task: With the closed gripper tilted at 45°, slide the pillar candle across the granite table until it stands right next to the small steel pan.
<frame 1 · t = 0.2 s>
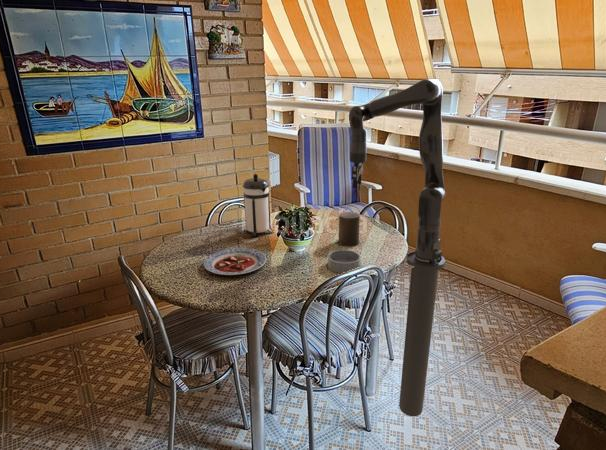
hand: (357, 185, 190), 26 cm above the table, tool pointing down, fingers open, 8 cm apart
croissant: (304, 234, 204), on the table
pillar candle: (348, 242, 193), on the table
pan: (343, 266, 169), on the table
ceramic plate: (235, 265, 171), on the table
coffee press: (256, 231, 208), on the table
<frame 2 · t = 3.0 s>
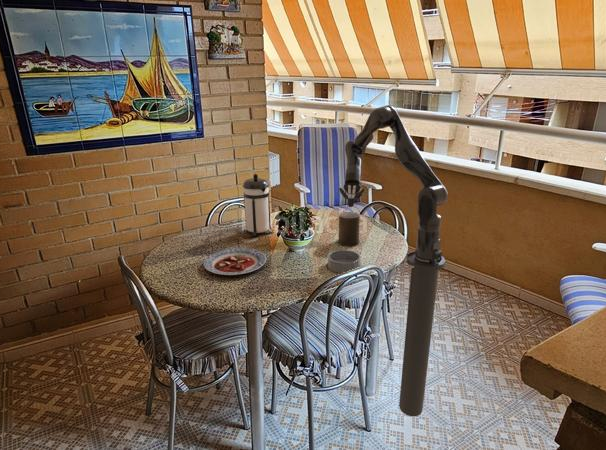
hand: (350, 206, 197), 15 cm above the table, tool tilted 45°, fingers closed
nothing on the table moved.
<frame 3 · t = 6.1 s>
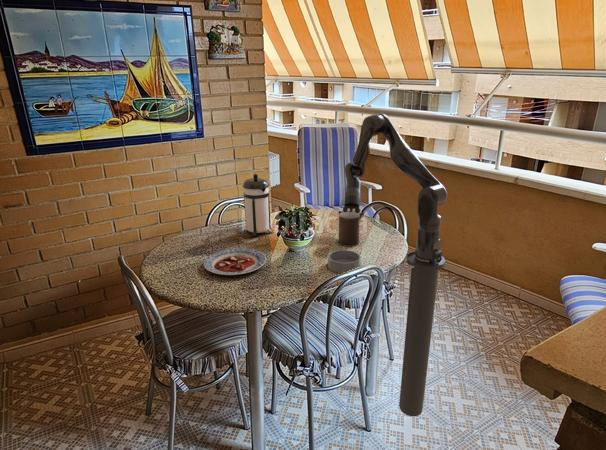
hand: (349, 229, 197), 4 cm above the table, tool tilted 45°, fingers closed
pillar candle: (348, 242, 193), on the table, touching gripper
everything else where it was.
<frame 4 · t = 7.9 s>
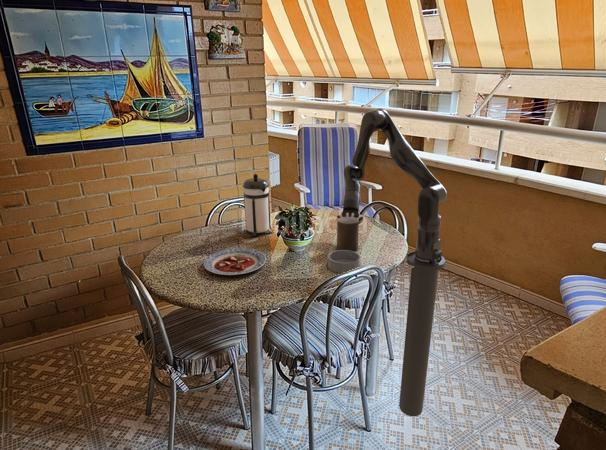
hand: (348, 235, 190), 4 cm above the table, tool tilted 45°, fingers closed
pillar candle: (347, 248, 187), on the table, touching gripper
everything else where it was.
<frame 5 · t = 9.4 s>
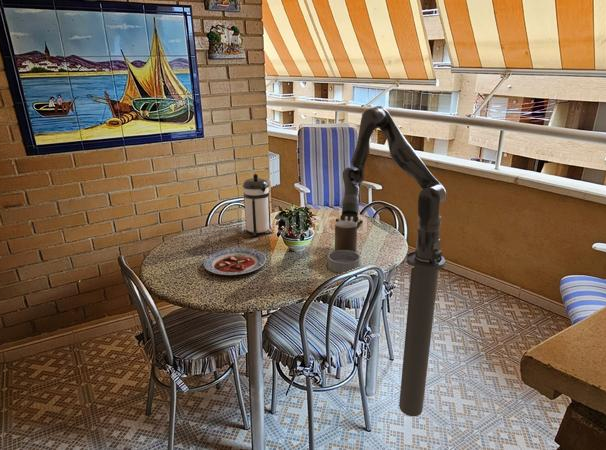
hand: (347, 239, 185), 4 cm above the table, tool tilted 45°, fingers closed
pillar candle: (345, 253, 182), on the table, touching gripper
everything else where it was.
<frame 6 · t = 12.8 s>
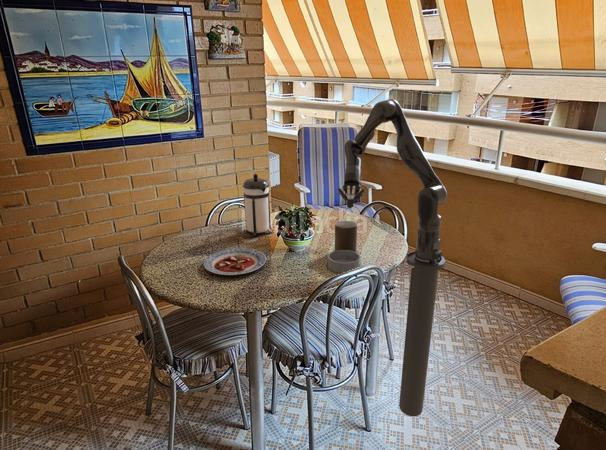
hand: (349, 207, 191), 16 cm above the table, tool tilted 45°, fingers closed
pillar candle: (345, 253, 182), on the table
everything else where it was.
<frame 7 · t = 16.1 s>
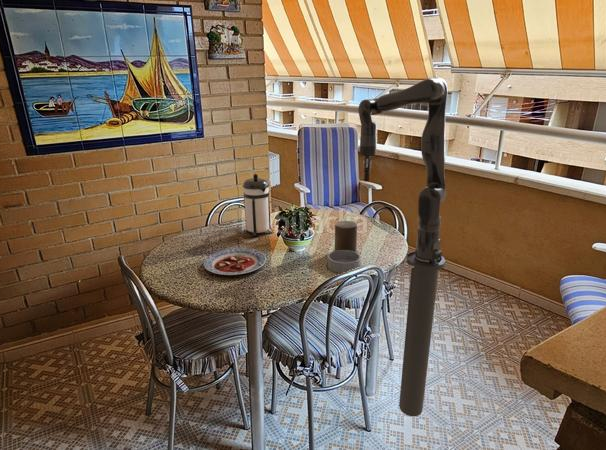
hand: (366, 180, 194), 27 cm above the table, tool pointing down, fingers closed
nothing on the table moved.
at the end: pillar candle 13.7 cm from the pan (horizontally); pillar candle moved 12.7 cm from its start; pillar candle tilted 0° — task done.
